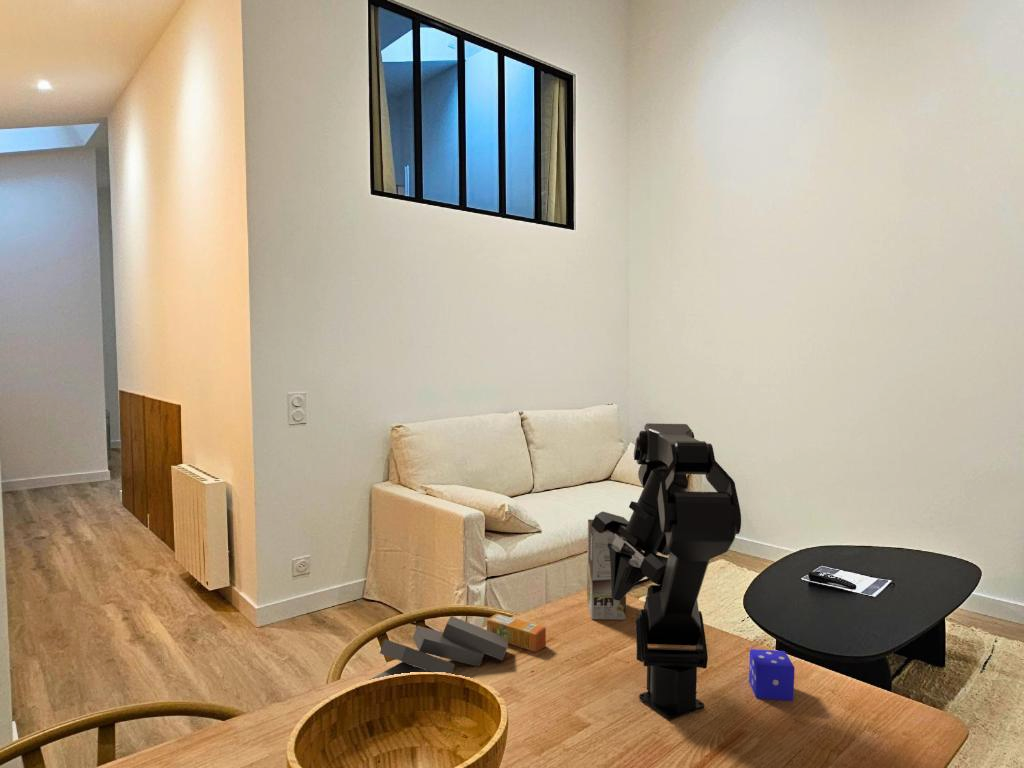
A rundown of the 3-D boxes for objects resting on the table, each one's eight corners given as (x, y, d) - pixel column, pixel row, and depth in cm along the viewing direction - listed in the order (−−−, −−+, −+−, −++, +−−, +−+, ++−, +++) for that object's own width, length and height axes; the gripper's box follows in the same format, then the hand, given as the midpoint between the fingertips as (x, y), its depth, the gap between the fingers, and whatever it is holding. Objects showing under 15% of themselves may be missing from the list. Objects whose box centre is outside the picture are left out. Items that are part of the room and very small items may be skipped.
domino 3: (474, 640, 111) (417, 625, 108) (484, 654, 106) (424, 638, 103) (470, 652, 111) (412, 637, 107) (479, 666, 106) (419, 651, 103)
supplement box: (534, 654, 110) (486, 638, 116) (547, 645, 113) (498, 630, 119) (534, 634, 110) (485, 619, 116) (546, 626, 113) (498, 611, 119)
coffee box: (627, 620, 124) (628, 531, 123) (590, 620, 124) (592, 531, 123) (619, 601, 133) (621, 518, 132) (586, 600, 133) (587, 517, 132)
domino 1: (402, 661, 100) (349, 690, 92) (428, 671, 97) (376, 701, 89) (402, 675, 100) (349, 705, 92) (428, 684, 97) (376, 716, 89)
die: (756, 699, 97) (757, 664, 97) (748, 681, 102) (749, 648, 102) (793, 701, 96) (794, 666, 96) (784, 684, 101) (785, 650, 101)
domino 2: (433, 656, 105) (384, 639, 99) (455, 664, 102) (406, 646, 96) (428, 670, 105) (379, 653, 99) (450, 678, 101) (400, 661, 95)
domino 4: (508, 639, 111) (451, 615, 112) (507, 648, 106) (446, 623, 107) (504, 650, 111) (446, 627, 112) (502, 660, 106) (442, 635, 107)
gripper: (737, 545, 98) (691, 642, 100) (662, 493, 115) (625, 577, 117) (678, 529, 93) (632, 631, 95) (609, 477, 110) (571, 564, 112)
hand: (615, 598), depth 105 cm, fingers closed
